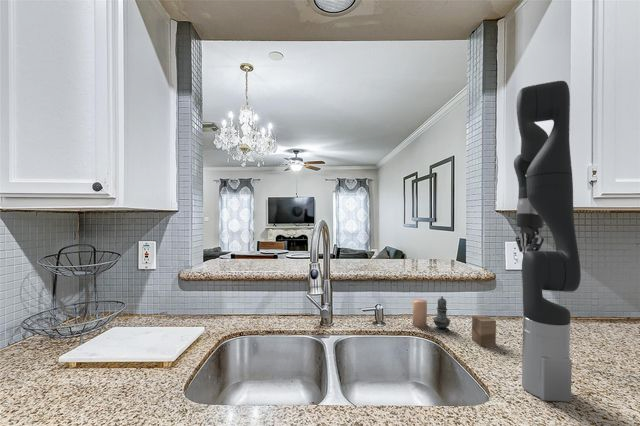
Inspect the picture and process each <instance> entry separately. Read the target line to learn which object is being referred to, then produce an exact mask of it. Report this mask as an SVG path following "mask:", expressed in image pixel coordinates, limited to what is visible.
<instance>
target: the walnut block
mask: <svg viewBox="0 0 640 426" xmlns="http://www.w3.org/2000/svg"><path fill="white" fill-rule="evenodd" d="M496 334H497V320H496V319H494V318H493V317H490V316H488V315H484V314H483V315H472V316H471V341H472V342H474V343H476V344H477V345H478V346H479V347H496V341H497V335H496Z"/></svg>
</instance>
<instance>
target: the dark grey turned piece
mask: <svg viewBox="0 0 640 426" xmlns="http://www.w3.org/2000/svg"><path fill="white" fill-rule="evenodd" d="M436 311H437V314H436V316H434V317H433V318H432V320H433V322H434V325H435V326H434V327H433V330H434V331H436V332H439V333H449V332H450V331H451V330H450V329H449V328H448V327H449V326H450V324H451V321H452V320H451V319H450V318H448V317H447V311H448V308H447V300H446V299H445V298H444V296H442V295H441V296H440V297H439V298H438V299H437V307H436Z"/></svg>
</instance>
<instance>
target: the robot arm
mask: <svg viewBox="0 0 640 426" xmlns="http://www.w3.org/2000/svg"><path fill="white" fill-rule="evenodd" d="M515 106H516V118H517V124H518V126H517V127H518V132H519V134H520V135H519V136H520V153H519V154H518V155H517V156H516V157H515V158H514V161H513V168H514V171H515V172H514V173H515V175H516V178H517V183H518V184H517V185H518V194H517V195H518V197H517V198H518V200H517V204H516V220H515V221H516V222H515V224H516V227H517V228H520V230H519V236H515V241H516V244H517V247H518V250H519V252H520V253H522V260H521V284H522V311H523V312H522V352H521V353H522V354H521V356H522V357H521V386H522V388H523V389H524V390H526V391H527V392H528V393H529V394H531V395H533V396H536V397H538V398H539V399H541V401H547V402H548V401H549V402H564V403H565V402H566V403H567V402H569V403H570V402H572V376H573V375H572V369H573V368H572V367H573V365H572V364H573V361H572V359H570V357H571V356H570V347H571V346H570V345H571V311H570V310H569V309H568V308H566V307H565V306H563V305H561V304H559V303H555V302H553V301H550V300H548V299H546V298H545V297H544V295H543V291H550V292H565V293H569V292H570V293H571V292H576V290H578V288H579V287H580V283H581V279H582V272H581V271H582V270H581V261H580V253H579V247H578V241H577V235H576V230H575V228H576V227H575V218H574V217H575V214H574V212H575V211H574V182H573V180H574V179H573V169H572V167H573V166H572V158H571V147H570V121H571V119H570V117H571V111H570V110H571V92H570V88H569V85H568V83H567V81H565V80H556V81H549V82H545V83H539V84H533V85H528V86H525V87H522V88H521V89H520V90H519V91H518V93H517V96H516V105H515ZM546 121H553V126H552V127H551V128H552V129H551V132H550V133H549V135H548V133H547V132H546V130H545V129H544V128H542V127H541V126H540V125H538V124H536V123H538V122H546ZM544 223H545V225H546V227H548V229H549V231H550V233H551V235H552V239H553V241H554V245H555V251H554V250H553V251H552V250H550V251H549V250H540V249H541V248H542V245H543V243H544V241H545V239H544V237H541V236H540V231H539V229H543V228H544Z"/></svg>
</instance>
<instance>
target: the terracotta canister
mask: <svg viewBox="0 0 640 426" xmlns="http://www.w3.org/2000/svg"><path fill="white" fill-rule="evenodd" d="M427 321H428V302H427V300H426V299H421V298H416V299H414V298H413V299H412V326H413V327H415V328H419V329H420V328H421V329H424V328H427V327H428V325H427V323H428V322H427Z"/></svg>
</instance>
